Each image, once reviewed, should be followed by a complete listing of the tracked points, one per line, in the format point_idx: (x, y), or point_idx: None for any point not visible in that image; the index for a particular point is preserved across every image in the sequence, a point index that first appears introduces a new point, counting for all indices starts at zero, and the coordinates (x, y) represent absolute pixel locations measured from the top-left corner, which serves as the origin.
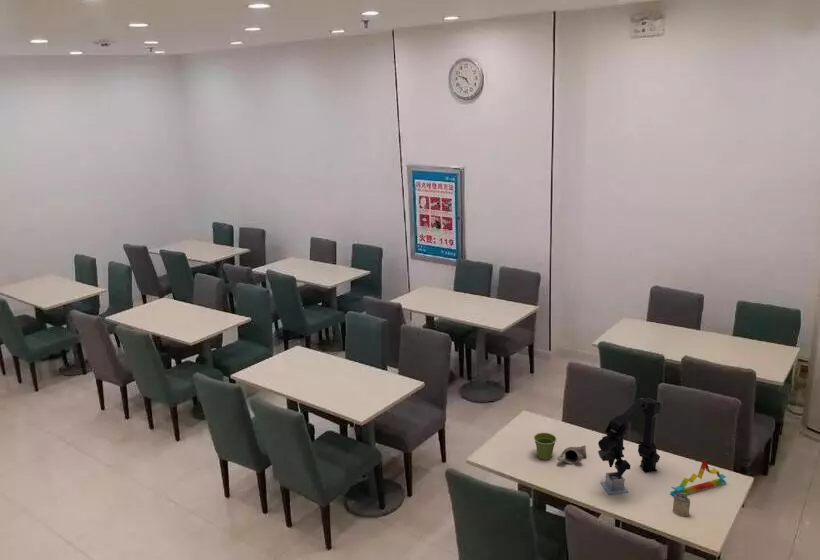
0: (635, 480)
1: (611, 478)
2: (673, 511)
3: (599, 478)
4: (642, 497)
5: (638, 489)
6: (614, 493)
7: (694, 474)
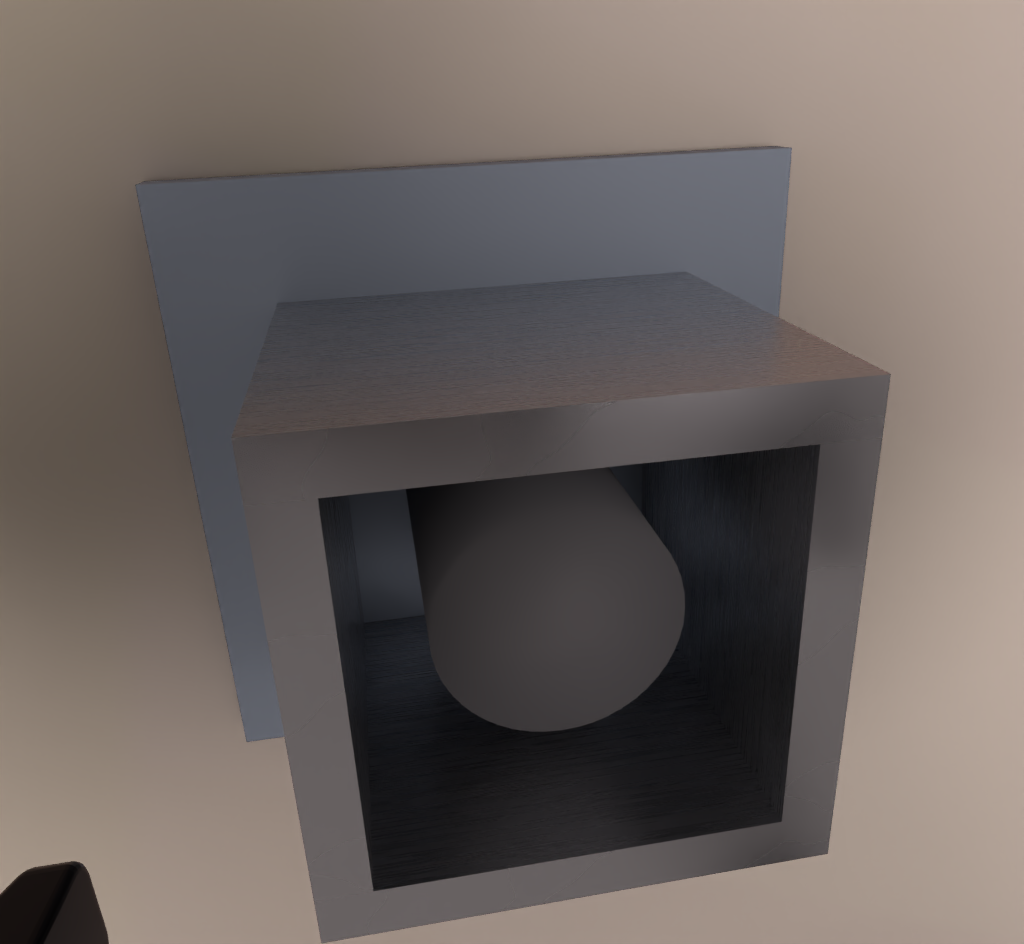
0: (672, 931)
1: (576, 496)
2: None
3: (969, 209)
4: None
5: None
6: (174, 373)
7: None
